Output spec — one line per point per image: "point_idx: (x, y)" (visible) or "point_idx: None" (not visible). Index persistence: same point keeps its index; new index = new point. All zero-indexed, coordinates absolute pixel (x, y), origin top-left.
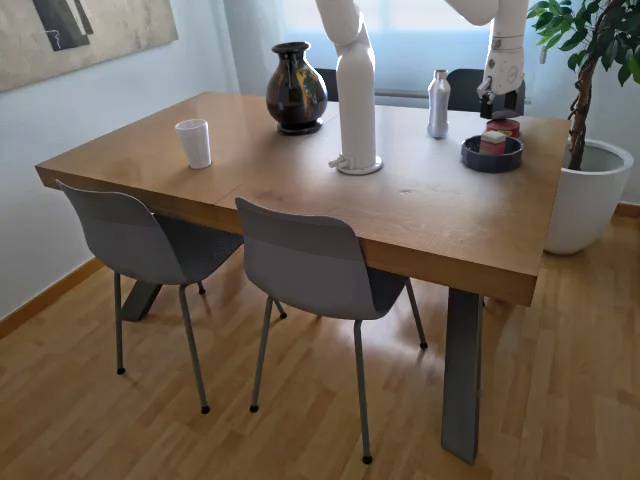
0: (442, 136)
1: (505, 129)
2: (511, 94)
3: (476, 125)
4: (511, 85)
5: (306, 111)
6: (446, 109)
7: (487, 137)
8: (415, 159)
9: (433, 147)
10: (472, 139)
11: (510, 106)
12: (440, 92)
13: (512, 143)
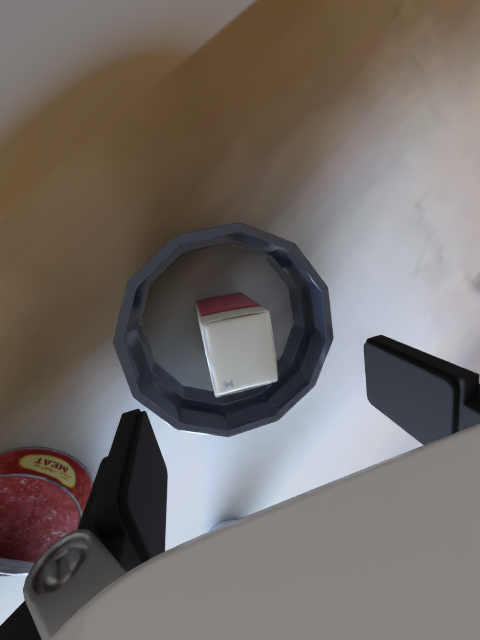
0: (227, 521)
1: (43, 478)
2: (138, 542)
3: None
4: (449, 567)
5: None
6: None
7: (273, 348)
8: (361, 424)
9: (282, 471)
10: (242, 421)
11: (152, 442)
12: None
13: (129, 342)
